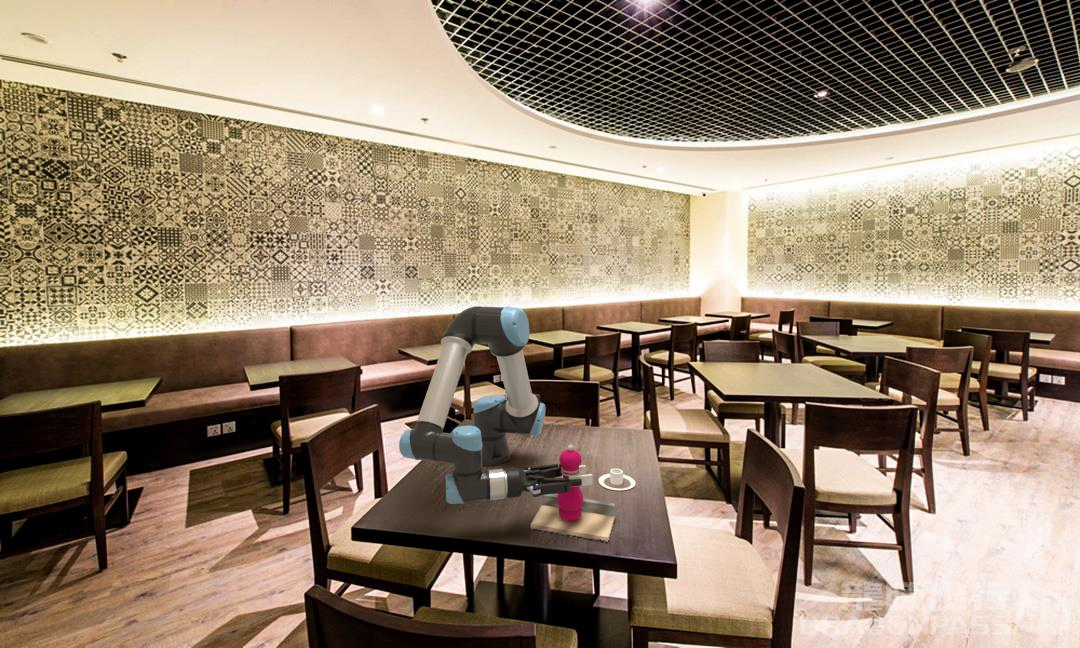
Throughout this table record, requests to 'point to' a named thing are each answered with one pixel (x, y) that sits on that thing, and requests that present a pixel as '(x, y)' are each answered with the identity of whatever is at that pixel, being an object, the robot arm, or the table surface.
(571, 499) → the pepper mill
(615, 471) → the candle holder
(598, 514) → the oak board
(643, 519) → the table surface
